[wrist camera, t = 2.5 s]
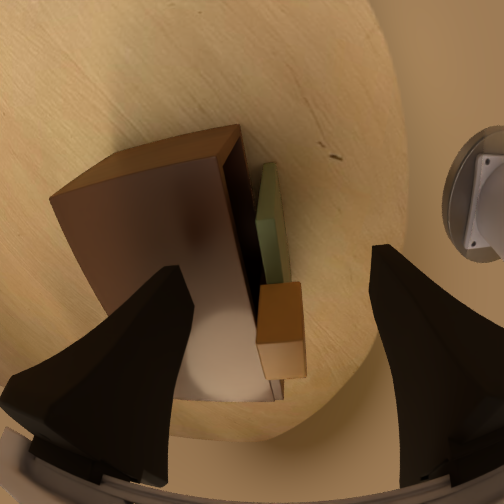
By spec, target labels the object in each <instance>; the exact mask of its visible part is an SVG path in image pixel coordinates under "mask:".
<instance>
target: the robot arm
mask: <svg viewBox="0 0 504 504" xmlns="http://www.w3.org/2000/svg"><path fill="white" fill-rule="evenodd" d="M486 159H487V162H486V163H485V161H486ZM472 242H473V243H472ZM463 246H464V248H465V249H475V248H482V247H490V246H491V247H492V248H493V249H494V250H495V252H496V253H497V254H498V255H499V256H500V258H501V259H502V260H503V261H504V155H498V154H478V155H477V157H476V161H475V172H474V181H473V189H472V196H471V203H470V209H469V215H468V220H467V225H466V230H465V235H464V240H463ZM369 296H370V300H371V305H372V310H373V314H374V318H375V321H376V324H377V327H378V330H379V333H380V336H381V340H382V343H383V346H384V349H385V352H386V355H387V359H388V362H389V365H390V369H391V373H392V377H393V383H394V390H395V396H396V404H397V413H398V423H399V439H400V480H399V482H400V489H396V490H392V491H388V492H383V493H378V494H372V495H367V496H362V497H354V498H347V499H339V500H329V501H318V502H300V503H254V502H253V503H252V502H238V501H226V500H216V499H208V498H201V497H194V496H188V495H182V494H177V493H171V492H167V491H162V490H157V489H153V488H149V487H145V486H141V485H137V484H134V483H130V481H131V482H135V483H139V484H140V483H143V484H146V485H151V486H155V487H163V486H165V485H166V484H167V483H168V440H169V427H170V418H171V409H172V403H173V396H174V390H175V385H176V381H177V377H178V374H179V370H180V367H181V363H182V360H183V356H184V353H185V350H186V346H187V343H188V339H189V336H190V332H191V328H192V322H193V316H194V308H195V305H194V303H193V300H192V298H191V295H190V293H189V290H188V287H187V285H186V282H185V280H184V277H183V274H182V272H181V269H180V266H179V265H171V266H164V267H162V268H161V269H160V270H159V271H157V272H156V273H155V274H154V275H153V276H152V277H151V278H150V279H149V280H148V281H146V282H145V283H144V284H143V285H142V286H141V287H140V288H139V289H138V290H137V291H136V292H135V293H134V294H133V295H132V296H131V297H130V298H129V299H128V300H126V301H125V302H124V303H123V304H122V305H121V306H120V307H119V308H118V309H116V310H115V311H114V312H113V313H112V314H111V315H110V316H109V317H108V318H106V319H105V320H104V321H103V322H102V323H100V324H99V325H98V326H97V327H95V328H94V329H93V330H92V331H90V332H89V333H88V334H86V335H85V336H84V337H82V338H81V339H79V340H78V341H76V342H75V343H73V344H72V345H70V346H69V347H67V348H66V349H64V350H63V351H61V352H60V353H58V354H56V355H54V356H53V357H51V358H49V359H47V360H45V361H43V362H42V363H40V364H38V365H36V366H34V367H31V368H29V369H27V370H24V371H22V372H20V373H18V374H15V375H13V376H11V378H10V379H9V381H8V383H7V385H6V386H5V388H4V390H3V392H2V394H1V396H0V407H1V408H2V409H3V410H4V411H5V412H6V413H7V414H8V415H9V416H10V417H12V418H13V419H14V420H15V421H16V422H18V423H19V424H20V425H21V426H23V427H24V428H25V429H27V430H28V431H29V432H31V433H32V434H33V435H34V438H33V440H32V441H31V440H29V439H28V438H26V437H25V436H23V435H21V434H20V433H18V432H16V431H14V430H12V429H11V428H9V427H5V430H4V432H3V434H2V437H1V439H0V486H1V487H2V488H3V489H5V490H6V491H7V492H8V493H9V494H10V495H11V496H12V497H13V498H14V499H15V500H16V501H17V502H19V503H20V504H134V503H135V504H504V328H503V327H500V326H498V325H497V324H495V323H493V322H492V321H490V320H488V319H486V318H485V317H483V316H481V315H479V314H478V313H476V312H475V311H473V310H472V309H470V308H469V307H467V306H466V305H464V304H463V303H461V302H460V301H458V300H457V299H456V298H454V297H453V296H451V295H450V294H449V293H448V292H446V291H445V290H443V289H442V288H441V287H440V286H439V285H437V284H436V283H434V281H432V280H431V279H430V278H428V277H427V276H426V275H425V274H424V273H423V272H421V271H420V270H419V269H418V268H417V267H416V266H414V265H413V264H412V263H411V262H410V261H408V260H407V259H406V258H405V257H404V256H403V255H402V254H400V253H399V252H398V251H397V250H396V249H395V248H393V247H392V246H391V245H390V244H384V245H375V246H372V258H371V271H370V283H369Z"/></svg>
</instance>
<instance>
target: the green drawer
mask: <svg viewBox="0 0 504 504" xmlns="http://www.w3.org/2000/svg"><path fill="white" fill-rule="evenodd" d="M255 224H256V229H257V234H258V240H259V245H260V250H261V256H262V261H263V266H264V272H265V277H266V283H267V284H265V285H261V287H260V296H259V308H258V319H257V330H256V341H255V344H256V347H257V351H258V355H259V358H260V362H261V366H262V370H263V373H264V377H265V379H266V380H279V379H296V378H306V376H307V367H306V347H305V329H304V315H303V303H302V291H301V283H300V282H292V279H291V270H290V261H289V253H288V245H287V237H286V230H285V222H284V215H283V208H282V200H281V193H280V186H279V180H278V173H277V166H276V163H275V162H273V163H266V164H263V171H262V178H261V184H260V191H259V198H258V205H257V212H256V219H255Z"/></svg>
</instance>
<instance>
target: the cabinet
mask: <svg viewBox="0 0 504 504" xmlns="http://www.w3.org/2000/svg"><path fill="white" fill-rule="evenodd" d="M49 200H50V203H51V205H52V208H53V210H54V212H55V215H56V217H57V219H58V222H59V224H60V226H61V228H62V231H63V233H64V235H65V237H66V239H67V241H68V243H69V245H70V247H71V249H72V252H73V254H74V256H75V258H76V259H77V261H78V263H79V265H80V267H81V269H82V271H83V273H84V275H85V277H86V278H87V280H88V282H89V284H90V286H91V288H92V289H93V291H94V293H95V295H96V296H97V298H98V300H99V301H100V303H101V305H102V306H103V308H104V310H105V311H106V313H107V315H108V316H110V315H111V314H112V313H113V312H114V311H115V310H116V309H118V308H119V307H120V306H121V305H122V304H123V303H124V302H125V301H126V300H128V299H129V298H130V297H131V296H132V295H133V294H134V293H135V292H136V291H137V290H138V289H139V288H140V287H141V286H142V285H143V284H144V283H145V282H146V281H148V280H149V279H150V278H151V277H152V276H153V275H154V274H155V273H156V272H157V271H159V270H160V269H161V268H162V267H164V266H171V265H179V266H180V269H181V272H182V274H183V277H184V280H185V282H186V285H187V287H188V290H189V293H190V295H191V298H192V300H193V303H194V305H195V308H194V316H193V322H192V328H191V332H190V336H189V339H188V343H187V346H186V350H185V353H184V356H183V360H182V363H181V367H180V370H179V374H178V377H177V381H176V385H175V390H174V396H173V399H180V400H195V401H215V402H274V401H275V400H283V399H284V379H279V380H266V379H265V377H264V373H263V370H262V366H261V362H260V358H259V355H258V351H257V347H256V344H255V341H256V330H257V319H258V308H259V296H260V287H261V285H265V284H267V283H266V277H265V272H264V266H263V261H262V256H261V250H260V245H259V240H258V234H257V229H256V224H255V219H256V208H255V203H254V197H253V192H252V187H251V181H250V176H249V171H248V166H247V160H246V155H245V150H244V145H243V139H242V134H241V129H240V125H239V124H234V125H229V126H223V127H218V128H212V129H207V130H202V131H198V132H193V133H188V134H184V135H180V136H175V137H171V138H167V139H163V140H159V141H155V142H151V143H148V144H144V145H140V146H137V147H133V148H130V149H126V150H123V151H120V152H116V153H113V154H112V155H110V156H108V157H107V158H105V159H104V160H102V161H101V162H99V163H97V164H96V165H94V166H93V167H91V168H90V169H88V170H87V171H85V172H84V173H82V174H81V175H80V176H78V177H77V178H75V179H74V180H72V181H71V182H70V183H68V184H67V185H65V186H64V187H63V188H61V189H60V190H59V191H57V192H56V193H55V194H53V195H52V196H51V197H50V198H49Z"/></svg>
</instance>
